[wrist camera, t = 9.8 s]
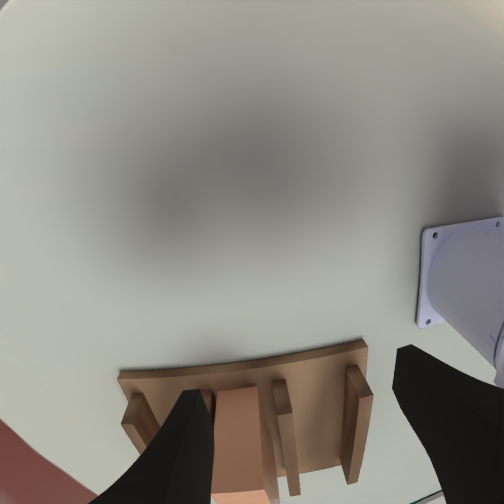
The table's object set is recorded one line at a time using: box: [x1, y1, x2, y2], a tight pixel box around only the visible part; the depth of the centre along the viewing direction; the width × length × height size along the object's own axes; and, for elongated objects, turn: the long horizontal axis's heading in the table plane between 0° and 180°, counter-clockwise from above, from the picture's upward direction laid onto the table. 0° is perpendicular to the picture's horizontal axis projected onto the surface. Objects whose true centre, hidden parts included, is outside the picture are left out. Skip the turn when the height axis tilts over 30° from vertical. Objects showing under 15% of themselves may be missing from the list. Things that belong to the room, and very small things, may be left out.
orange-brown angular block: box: [211, 386, 280, 504], centre depth 18 cm, size 3×8×9 cm, turn 11°
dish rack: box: [117, 340, 373, 496], centre depth 22 cm, size 19×16×4 cm
